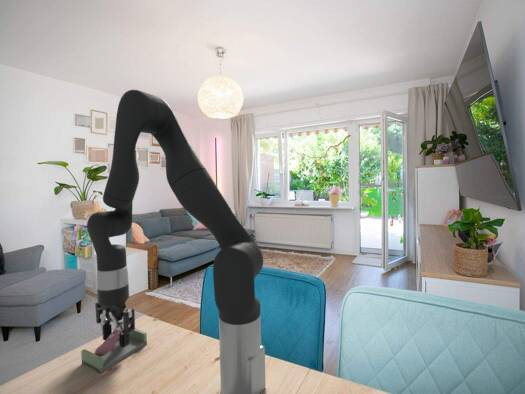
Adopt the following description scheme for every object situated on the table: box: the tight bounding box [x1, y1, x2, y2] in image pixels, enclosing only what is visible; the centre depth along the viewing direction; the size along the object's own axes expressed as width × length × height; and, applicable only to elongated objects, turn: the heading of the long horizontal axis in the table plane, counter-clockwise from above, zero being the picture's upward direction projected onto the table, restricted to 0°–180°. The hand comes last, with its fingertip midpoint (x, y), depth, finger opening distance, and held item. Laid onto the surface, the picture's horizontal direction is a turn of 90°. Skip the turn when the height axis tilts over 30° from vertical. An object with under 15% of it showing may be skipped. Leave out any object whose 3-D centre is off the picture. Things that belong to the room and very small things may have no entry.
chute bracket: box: [80, 328, 148, 374], centre depth 74 cm, size 8×14×4 cm, turn 151°
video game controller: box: [94, 324, 131, 357], centre depth 74 cm, size 10×5×7 cm, turn 175°
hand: (115, 342), depth 74 cm, fingers closed on video game controller, 7 cm apart
